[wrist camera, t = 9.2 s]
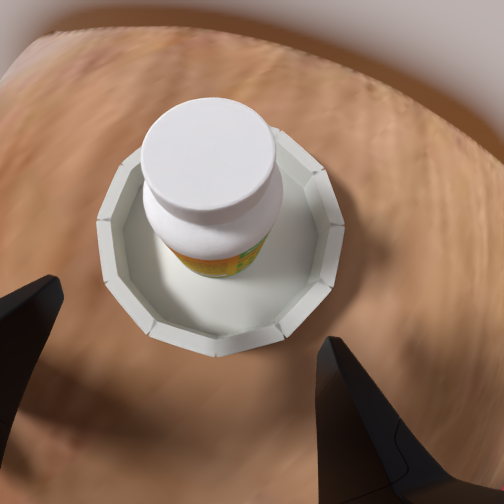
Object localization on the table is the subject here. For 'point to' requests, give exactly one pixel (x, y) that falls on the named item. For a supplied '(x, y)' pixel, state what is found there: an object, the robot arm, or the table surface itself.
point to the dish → (231, 288)
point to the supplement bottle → (211, 184)
